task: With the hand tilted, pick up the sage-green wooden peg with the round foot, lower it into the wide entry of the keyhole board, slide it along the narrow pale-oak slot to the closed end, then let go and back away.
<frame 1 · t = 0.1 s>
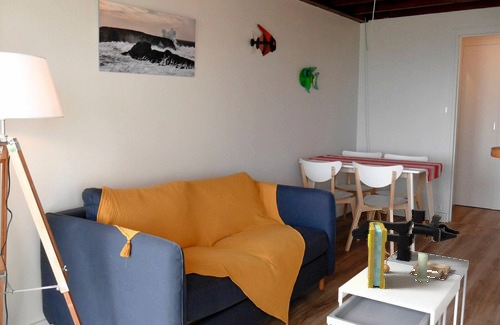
hand: (458, 234, 228), 17 cm above the table, tool horizontal, fingers open, 9 cm apart
figurine: (384, 273, 218), on the table
sage peg: (421, 280, 209), on the table
book: (375, 282, 206), on the table
keyhole board: (430, 272, 221), on the table
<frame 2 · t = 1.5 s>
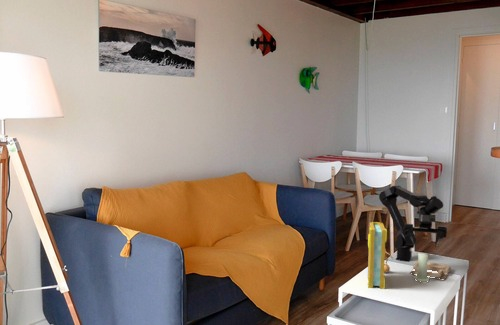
hand: (424, 245, 215), 14 cm above the table, tool tilted 45°, fingers open, 9 cm apart
nothing on the table moved.
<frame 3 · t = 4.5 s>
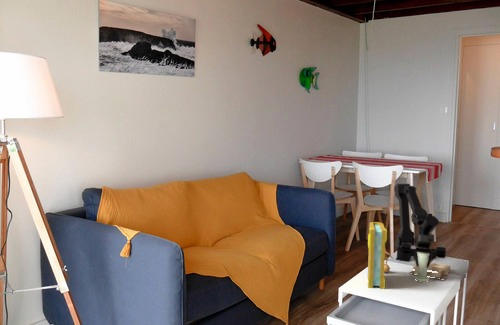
hand: (422, 266, 207), 7 cm above the table, tool tilted 45°, fingers closed on sage peg, 4 cm apart
sage peg: (421, 280, 209), on the table, touching gripper
everything else where it was.
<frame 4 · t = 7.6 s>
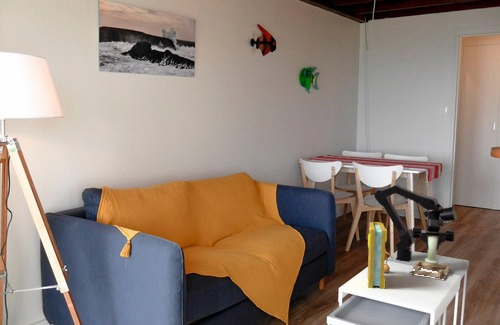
hand: (432, 249, 221), 11 cm above the table, tool tilted 45°, fingers closed on sage peg, 4 cm apart
sage peg: (431, 262, 223), point 4 cm above the table, touching gripper
everything else where it was.
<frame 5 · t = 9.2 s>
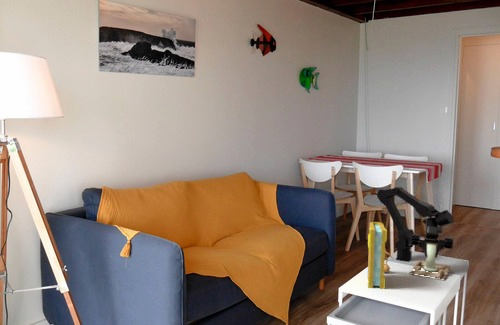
hand: (431, 256, 218), 8 cm above the table, tool tilted 45°, fingers closed on sage peg, 4 cm apart
sage peg: (430, 269, 220), point 2 cm above the table, touching gripper
everything else where it was.
when the fingers open (8 cm above the table, at t = 10.5 s): sage peg stays where it is, resting on keyhole board.
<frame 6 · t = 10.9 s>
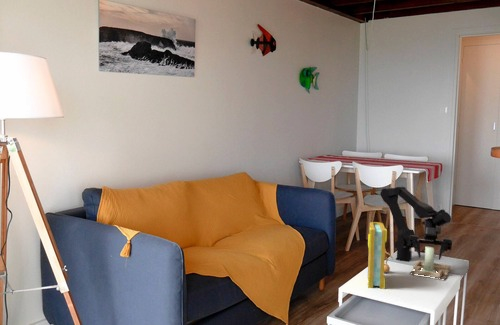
hand: (429, 258, 215), 8 cm above the table, tool tilted 45°, fingers open, 8 cm apart
sage peg: (428, 272, 217), point 1 cm above the table, touching keyhole board
everything else where it was.
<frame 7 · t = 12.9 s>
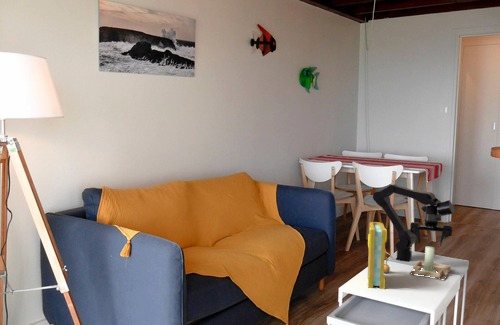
hand: (430, 244, 221), 13 cm above the table, tool tilted 45°, fingers open, 9 cm apart
nothing on the table moved.
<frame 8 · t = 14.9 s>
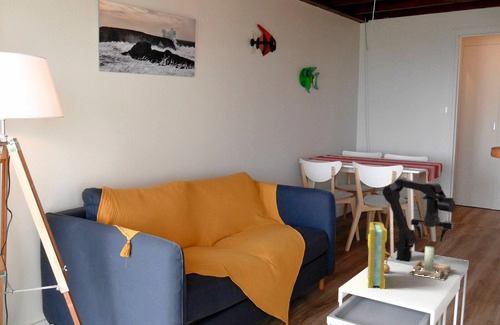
hand: (431, 240, 229), 13 cm above the table, tool pointing down, fingers open, 9 cm apart
nothing on the table moved.
at the end: sage peg 0.1 cm from the target spot on the keyhole board, point 0.8 cm above the keyhole board's base; sage peg tilted 1°; the gripper is holding nothing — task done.
